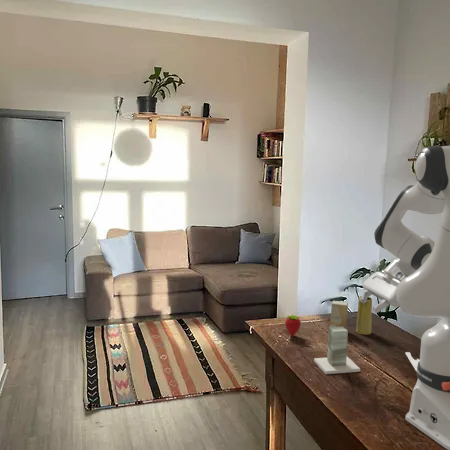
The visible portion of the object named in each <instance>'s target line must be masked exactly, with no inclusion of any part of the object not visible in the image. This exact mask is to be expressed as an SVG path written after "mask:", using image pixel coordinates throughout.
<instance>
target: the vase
mask: <svg viewBox="0 0 450 450" xmlns="http://www.w3.org/2000/svg"><path fill="white" fill-rule="evenodd" d="M361 297H362V295H361V296H359V297H358V298H357V299H358V301H357V317H356V326H355V332H356V333H357V334H359V335H363V336H364V335H365V336H366V335H367V336H368V335H371V334H372V333H373V332H372V318H373V317H372V316H373V315H372V314H373V313H372V311H373V298H372V297H371V296H368V298H367V302H366V303H365V304H363V303H362V302H361V301H360V300H359V299H360V298H361Z"/></svg>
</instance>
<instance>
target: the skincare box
mask: <svg viewBox="0 0 450 450" xmlns="http://www.w3.org/2000/svg"><path fill="white" fill-rule="evenodd" d="M348 308H349V301H348V302H347V301H341V300H340V301H338V300H332V302H331V308H330V309H331V310H330V311H331V312H330V325H329V327H342V326H343V327H344V328H345V329H346V330H347V323H348V321H347V320H348Z"/></svg>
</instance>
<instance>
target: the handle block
mask: <svg viewBox="0 0 450 450" xmlns="http://www.w3.org/2000/svg"><path fill="white" fill-rule="evenodd" d="M327 330H328V331H327V332H328V335H327V354H326V355H327V362H328V363H329V364H330V365H331V366H346V359H347V357H348V354H347V353H348V336H349V335H348V333H349V332H348V331H349V330H348V329H347V328H346V329H345V328H344V327H343V326H342V327H330V326H329V327H328V328H327Z"/></svg>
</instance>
